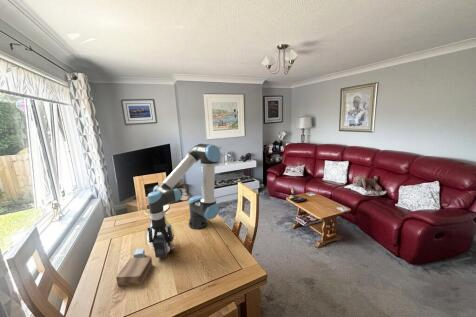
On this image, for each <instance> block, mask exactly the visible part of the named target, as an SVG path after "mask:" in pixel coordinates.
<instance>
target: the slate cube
mask: <svg viewBox="0 0 476 317" xmlns="http://www.w3.org/2000/svg"><path fill="white" fill-rule="evenodd" d="M145 256H146V252H145V248H137V249H134V253H133V258H146V257H145Z"/></svg>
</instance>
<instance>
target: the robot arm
mask: <svg viewBox="0 0 476 317" xmlns="http://www.w3.org/2000/svg"><path fill="white" fill-rule="evenodd" d="M220 158H221V150H220V148H219V147H218V146H217V145H216V144H210V143H199V144H196V145H194V146H193V147H192V148H191V149H189V150H188V152H187V153H186V154H185V157H184V158H183V159H182V160H181V161H180V162H179V163H178V165H177V166H176V167H175V168H174V169H173V170H172V171H171V173H170V174H168V176H167V177H166V178H165V179H164V180H163V181H162V182H161V183H160V185H159V184H157V185H155V186H154V187H153V189H152V191H151V192H149V193H148V194H147V203H148V210H149V214H150V221H151V225H149V226H148V227H147V228H146V229H147V231H148V243H152V247H153V248H154V244H153V242H154V240H155V239H156V237H157V235H158V233H160V232H161V233H162V234H163V235H164V237H165V239H166V241H167V242H166V246H167V252H168V253H169V252H170V250H171V244H172V243H171V242H172V241H173V239H174V237H173V236H174V235H173V232H172V225H171V224H167V223H166V216H165V212H164V207H165V206H167V205H169V204H172V203H175V202H177V201H180V200H181V199H182V192H181V190H180V189H178V188H174V187H175V186H176V185H177V183H178V182H179V181H180V180H181V179H182V178H183V177H184V176H185V174H186V173H187V172H188V171H189V170H190V168H192V166H193V165H194V164H197V163H198V162H199V161H200V165H202V191H201V192H202V193H201V195H200V194H199V195H194V196H191V197H190V198H189V199H188V204H189V205H188V206H189V220H188V227H189V228H190V229H192V230H200V229H203V228H206V226H208V225H207V224H209V220H213V219H215V218H217V216H218V215H219V212H220V206H219V205H218V204H217V199H216V198H215V174H216V173H215V172H216V171H215V169H216V165H217V163H218V162H219V160H220ZM167 232H168V234H167ZM168 235H169V236H168Z"/></svg>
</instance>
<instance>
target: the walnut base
mask: <svg viewBox="0 0 476 317" xmlns="http://www.w3.org/2000/svg"><path fill="white" fill-rule="evenodd" d="M152 266H153V261H152V257H151V256H149V257H147V256H146V257H144V258H134V257H130V258H129V260H127V262H126V264H124V266H123V268H122V269H121V270H120V271H119V273H118V274H117V275H116V276H115V279H116V284H117V286H119V287H120V286H140V285H143V283H144V280H145V279H146V277H147V275H148V273H149V272H150V270H151V268H152Z"/></svg>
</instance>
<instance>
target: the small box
mask: <svg viewBox="0 0 476 317" xmlns="http://www.w3.org/2000/svg"><path fill="white" fill-rule="evenodd" d="M166 232H167V234H168V231H166ZM166 242H167V241H166V239H165V237H164V235H163V234H161V235H158V234H157V237H156V239H155V240H154V242H153V243H152V245H153V244H154V247H153V251H154V256H155V258H157V259H158V258H166V257H167V255H168V253H169V252H167V246H166Z"/></svg>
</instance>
